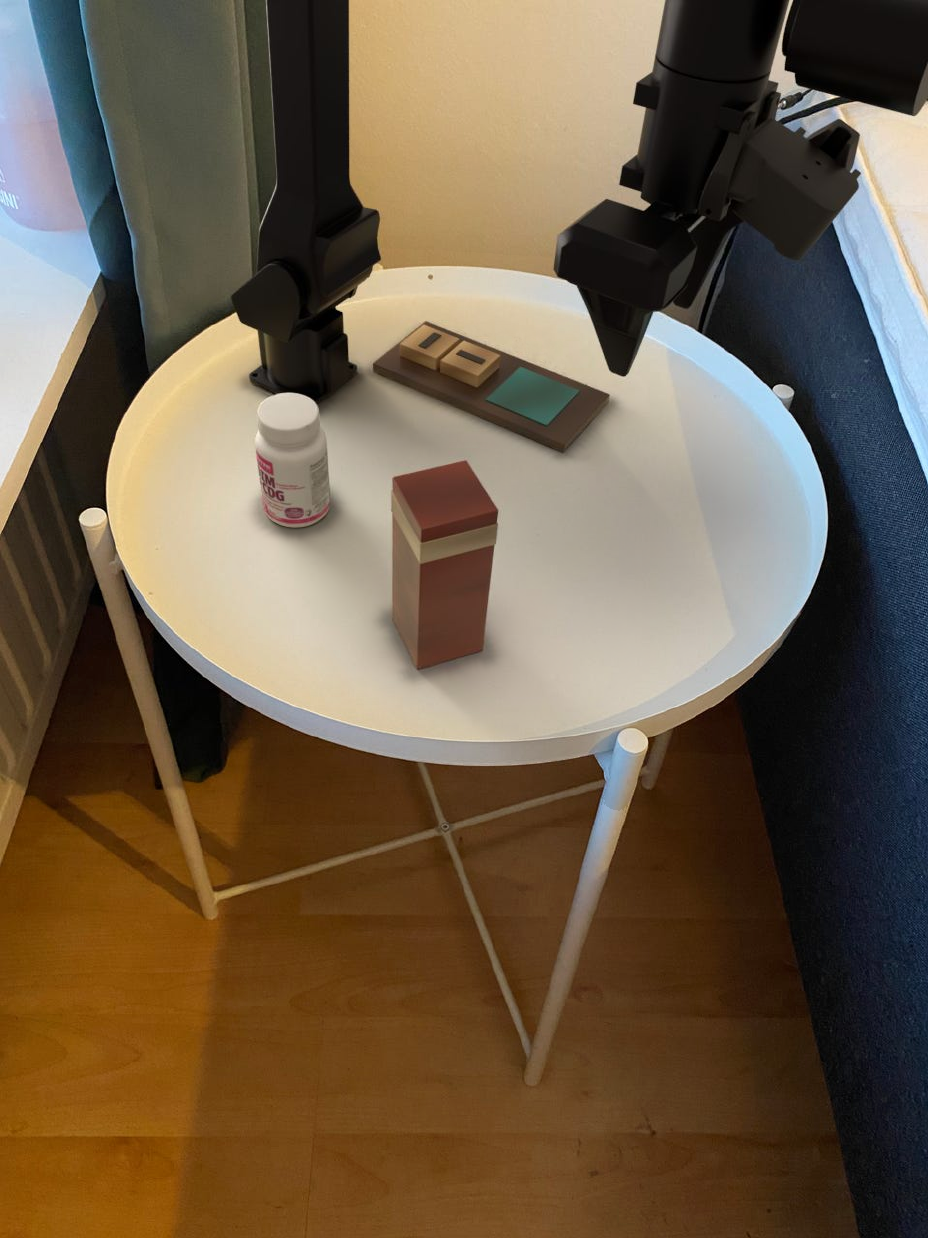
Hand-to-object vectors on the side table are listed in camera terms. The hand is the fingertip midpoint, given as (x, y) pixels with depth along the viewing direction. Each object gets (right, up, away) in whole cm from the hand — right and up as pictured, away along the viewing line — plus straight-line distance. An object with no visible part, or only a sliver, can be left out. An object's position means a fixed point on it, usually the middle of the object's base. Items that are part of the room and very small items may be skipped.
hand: (651, 338), depth 60 cm
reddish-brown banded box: (-13, -18, +3) cm, 23 cm away
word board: (-9, +2, +21) cm, 23 cm away
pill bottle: (-23, -9, +10) cm, 27 cm away
